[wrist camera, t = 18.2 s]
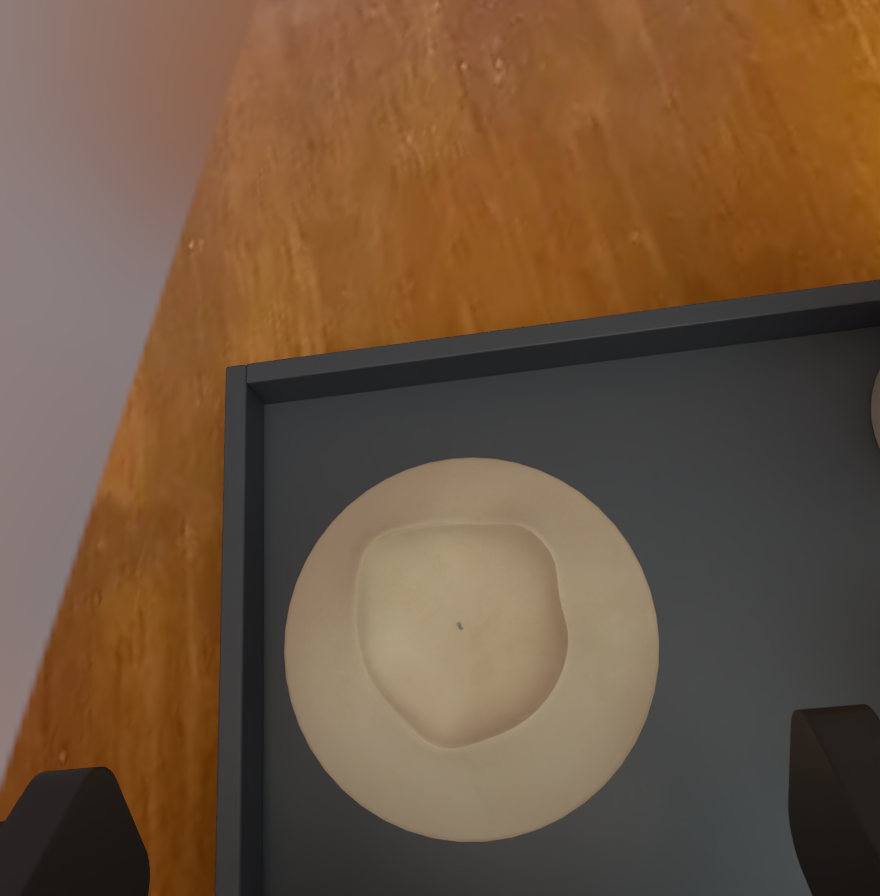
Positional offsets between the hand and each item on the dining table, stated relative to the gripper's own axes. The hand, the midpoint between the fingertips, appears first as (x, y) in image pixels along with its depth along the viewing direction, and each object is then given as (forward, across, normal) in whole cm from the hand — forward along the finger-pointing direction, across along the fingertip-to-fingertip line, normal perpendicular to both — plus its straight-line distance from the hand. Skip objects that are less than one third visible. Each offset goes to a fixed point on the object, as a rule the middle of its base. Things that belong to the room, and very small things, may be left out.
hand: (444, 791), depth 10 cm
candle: (+9, 0, +6) cm, 11 cm away
